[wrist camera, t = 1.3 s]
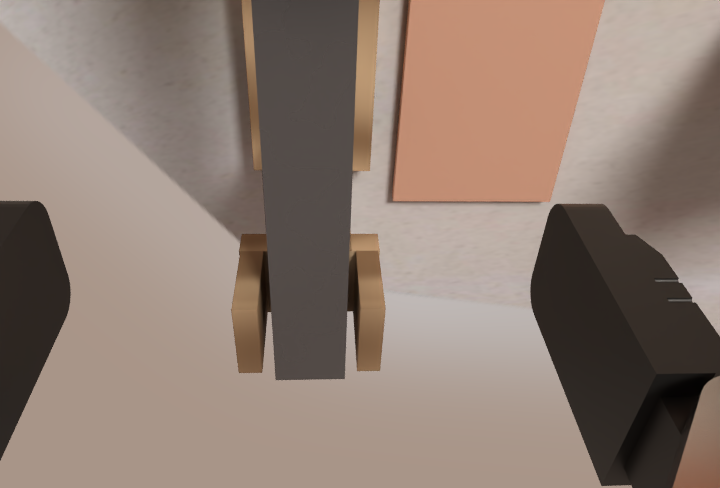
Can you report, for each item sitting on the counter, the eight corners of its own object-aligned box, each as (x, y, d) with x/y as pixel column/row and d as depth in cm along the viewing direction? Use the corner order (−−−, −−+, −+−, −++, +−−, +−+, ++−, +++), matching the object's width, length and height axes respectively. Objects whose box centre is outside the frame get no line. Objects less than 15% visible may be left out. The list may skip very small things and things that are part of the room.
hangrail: (225, -633, 10) (204, -724, 8) (372, -619, 11) (386, -706, 9) (278, 330, 25) (275, 379, 23) (342, 329, 25) (344, 378, 23)
